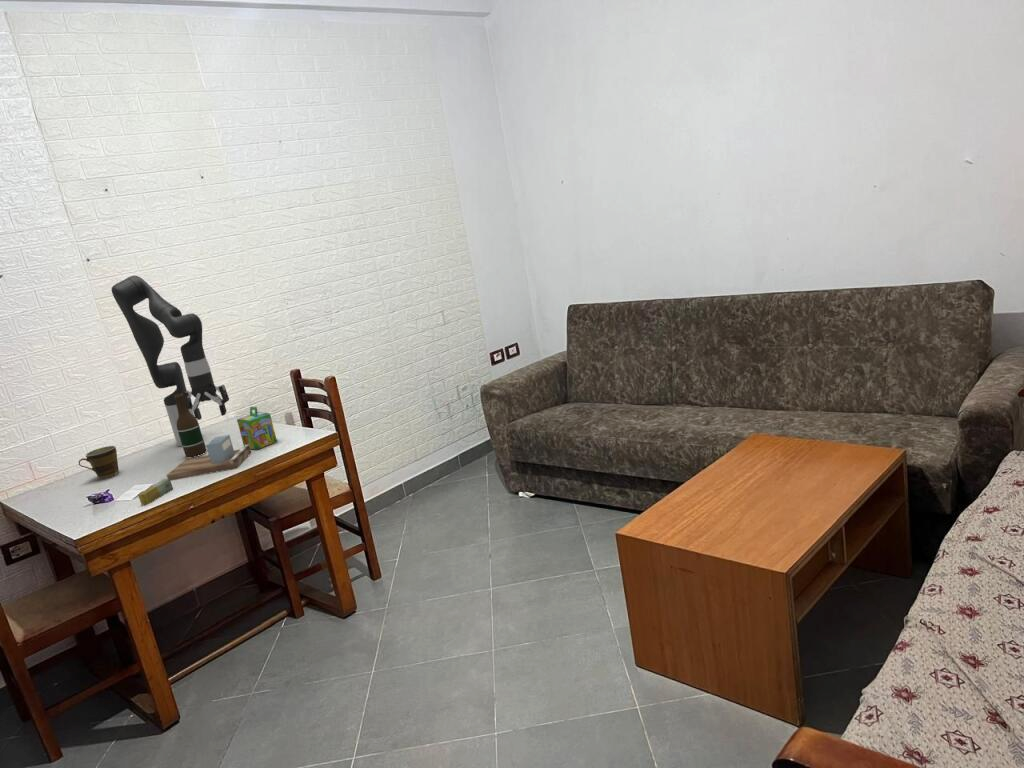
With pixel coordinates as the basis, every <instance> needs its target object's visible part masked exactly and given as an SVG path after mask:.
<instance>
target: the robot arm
mask: <svg viewBox="0 0 1024 768" xmlns="http://www.w3.org/2000/svg"><path fill="white" fill-rule="evenodd" d="M111 294H112V296H113V299H114V300H115V302H116V304H117V306H118V307H119V309H120V310H121V312H122V314H123V316H124V318H125V320H126V322H127V323H128V326H129V328H130V331H131V333H132V336H133V338H134V340H135V343H136V344H137V346H138V349H139V350H140V352H141V354H142V357H143V358H144V361H145V363H146V366H147V369H148V370H149V374H150V376H151V379H152V382H153V383H154V386H156V388H158V389H166V388H170V387H176V388H175V390H174V391H173V392H172V393H170V394H168V395H167V396H165V397H164V398H163V403H164V406H165V410H166V412H167V417H168V420H169V423H170V425H171V426H170V427H171V429H172V432H173V436H174V439H175V442H176V445H177V447H183V446H182V443H181V440H180V437H179V433H178V430H177V420H178V417H179V415H178V410H177V405H176V401H175V399H174V395H176V394H180V393H183V396H184V400H185V404H186V408H187V409H189V411H190V413H191V414H192V415H194V416H195V418H196V419H197V421H199V420H202V413H201V410H200V408H199V406H200V404H201V403H205V402H206V401H207V402H208V401H212V402H215V403H216V404H218V408H219V412H220V415H221V416H223V417H224V416H225V415H226V414H227V407H226V404H225V403H228V402H229V400H230V397H229V394H228V392H227V389H226V386H225V385H224V384H221V385H219V386H216V385H215V381H214V378H213V375H212V371H211V367H210V364H209V362H208V359H207V358H206V353H205V350H204V346H203V345H204V344H203V323H202V320H201V318H200V317H199V316H198V315H197V314H195V313H188V314H182V311H181V310H180V309H179V308H177V307H176V306H175V305H173V304H172V303H170V302H168V301H167V300H166V299H164V298H163V297H162V296H161V295H160V294H159V292H157V291H156V290H155V289H154V288H153V286H151V285H150V284H149V283H148V282H146V280H145V279H143V278H141V276H138V275H130V276H128V277H126V278H124V279H123V280H121V281H119V282H117V283H115V284H114V285H112V287H111ZM146 299H148V308H149V313H150V314H151V316H152V317H153V318H154V319H155V320H157V321H158V322H159V323H161V324H163V325H164V327H165V328H166V330H167V332H168V333H169V334H170V336H171V337H173V338H176V339H183V338H185V337H189V339H188V341H187V342H186V343H184V344H182V345H181V346H180V354H181V356H182V360H183V362H184V369H185V372H186V375H187V376H186V377H187V380H188V383H189V386H190V389H191V390H190V391H189V390H187V386H186V382H185V378H184V374H183V369H182V368H181V365H180V364H179V362H178V361H173V362H168V363H163V364H158V359H159V357H160V354H161V352H162V349H163V347H164V345H165V344H164V343H165V339H164V336H163V333H162V331H161V329H160V327H159V325H158V323H156V322H155V321H153V320H152V319H150V318H148V317H145V316H143V315H141V314H140V313H138V312H136V311H135V309H134V306H136V305H138V304H140V303H142V302H144V301H145V300H146ZM217 392H218V393H220V395H219V394H218V393H217ZM192 396H193V398H195V399H194V401H192V398H191V397H192Z"/></svg>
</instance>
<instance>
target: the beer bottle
mask: <svg viewBox="0 0 1024 768" xmlns="http://www.w3.org/2000/svg"><path fill="white" fill-rule="evenodd" d="M174 399H175V401H176V405H177V410H178V415H179V417H178V420H177V430H178V433H179V437H180V440H181V443H182V446H181V447H182V449H183V453H184V456H185V457H186V458H187V457H194V456H198V455H201V454H203V453H205V452H206V453H207V447H206V444H205V440H204V437H203V434H202V431H201V427H200V424H199V420H197V419H196V418H195V415H192V414H191V413H190V411H189V409H187V408H186V404H185V400H184V396H183V393H180V394H176V395H174ZM206 453H205V454H206ZM203 455H204V454H203ZM201 456H202V455H201ZM198 457H199V456H198ZM194 458H195V457H194Z"/></svg>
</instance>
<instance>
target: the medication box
mask: <svg viewBox="0 0 1024 768" xmlns="http://www.w3.org/2000/svg"><path fill="white" fill-rule="evenodd" d="M172 491H174V487H173V485H172V482H171V480H170V479H168V478H164V479H162V480H159V481H158V482H157V483H155V484H153V485H151V486H150V487H148V488H146V489H145V490H143V491H141V492H139V493H138V494H137V496H138V499H139V502H140V504H141V506H143V505H142V504H148V505H150V504H151V503H153V502H154V500H155V499H156V500H158V499H160V498H161V497H162V496H163V497H164V496H165V495H166V494H168V493H170V492H172ZM164 494H165V495H164ZM159 497H160V498H159ZM157 498H158V499H157ZM156 500H155V501H156ZM152 501H153V502H152ZM150 502H151V503H150ZM149 503H150V504H149Z"/></svg>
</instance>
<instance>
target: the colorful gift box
mask: <svg viewBox="0 0 1024 768" xmlns="http://www.w3.org/2000/svg"><path fill="white" fill-rule="evenodd" d="M253 411H254V413H253ZM272 420H273V419H272V417H271V414H270V413H269V412H261V411H258V407H257V406H250V407H249V415H246V416H242V417H240V418H236V422H237V425H238V430H239V433H240V437H241V440H242V445H243V447H244V446H245V445H249V448H250V449H251V450H253V449H254V451H258V450H260V448H261V449H263V448H265V447H267V446H268V447H269V446H271V445H273V444H275V443H274V442H276V441H277V442H278V440H277V436H276V432H275V428H274V424H273V421H272ZM277 442H276V443H277ZM272 443H273V444H272Z"/></svg>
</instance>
